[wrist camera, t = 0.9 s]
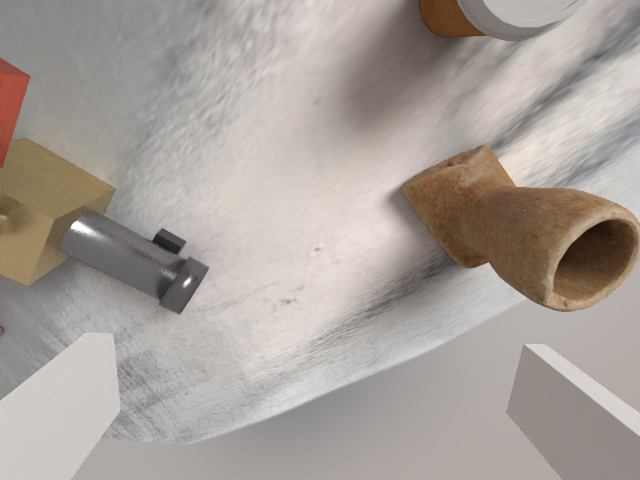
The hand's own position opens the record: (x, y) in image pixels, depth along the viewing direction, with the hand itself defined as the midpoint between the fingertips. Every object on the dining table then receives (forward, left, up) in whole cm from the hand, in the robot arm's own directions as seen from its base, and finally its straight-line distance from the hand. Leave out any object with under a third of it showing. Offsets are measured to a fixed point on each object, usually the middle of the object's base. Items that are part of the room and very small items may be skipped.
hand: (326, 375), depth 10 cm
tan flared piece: (-8, +17, -27) cm, 33 cm away
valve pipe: (+18, -21, -26) cm, 38 cm away
